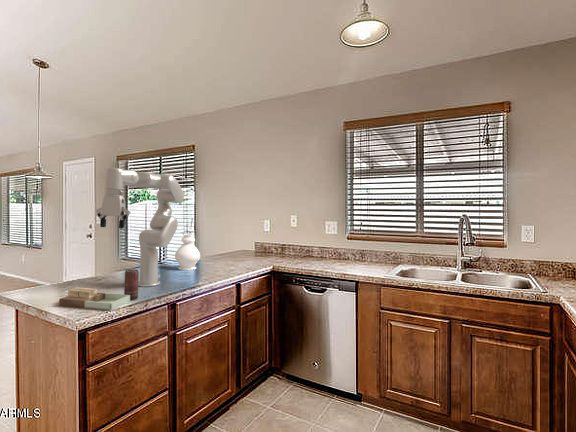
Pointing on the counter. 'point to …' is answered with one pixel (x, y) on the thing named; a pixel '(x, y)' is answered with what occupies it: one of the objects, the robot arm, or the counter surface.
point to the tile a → (74, 292)
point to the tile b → (87, 293)
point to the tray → (108, 302)
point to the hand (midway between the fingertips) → (112, 227)
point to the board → (79, 300)
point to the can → (131, 284)
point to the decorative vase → (187, 253)
